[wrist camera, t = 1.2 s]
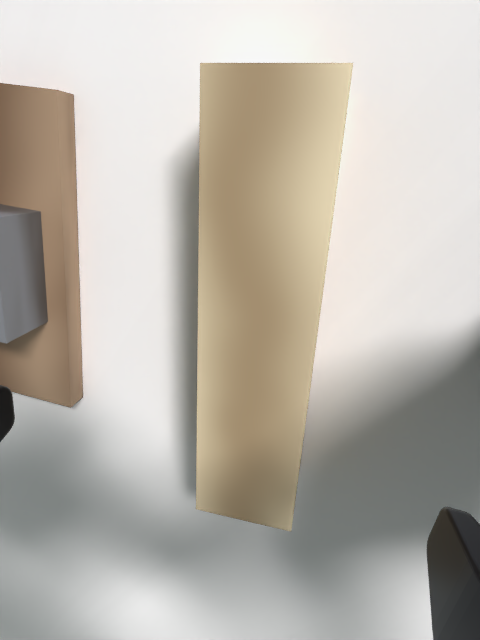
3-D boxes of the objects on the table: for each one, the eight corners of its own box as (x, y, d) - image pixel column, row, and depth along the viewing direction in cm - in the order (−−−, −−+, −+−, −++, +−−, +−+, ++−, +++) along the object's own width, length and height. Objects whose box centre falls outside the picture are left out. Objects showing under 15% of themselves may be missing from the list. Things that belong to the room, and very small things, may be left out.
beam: (349, 91, 13) (353, 63, 10) (300, 463, 19) (291, 531, 16) (235, 90, 14) (200, 62, 11) (221, 447, 20) (195, 509, 16)
